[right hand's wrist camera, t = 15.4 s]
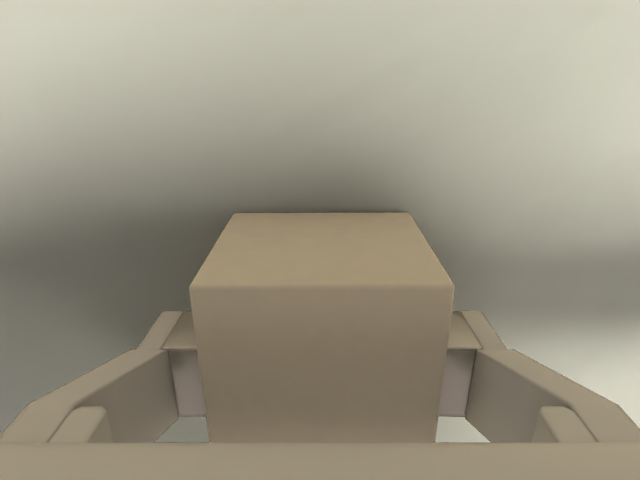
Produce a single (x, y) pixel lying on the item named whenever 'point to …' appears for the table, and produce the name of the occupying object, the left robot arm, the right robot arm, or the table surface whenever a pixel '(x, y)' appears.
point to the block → (322, 329)
